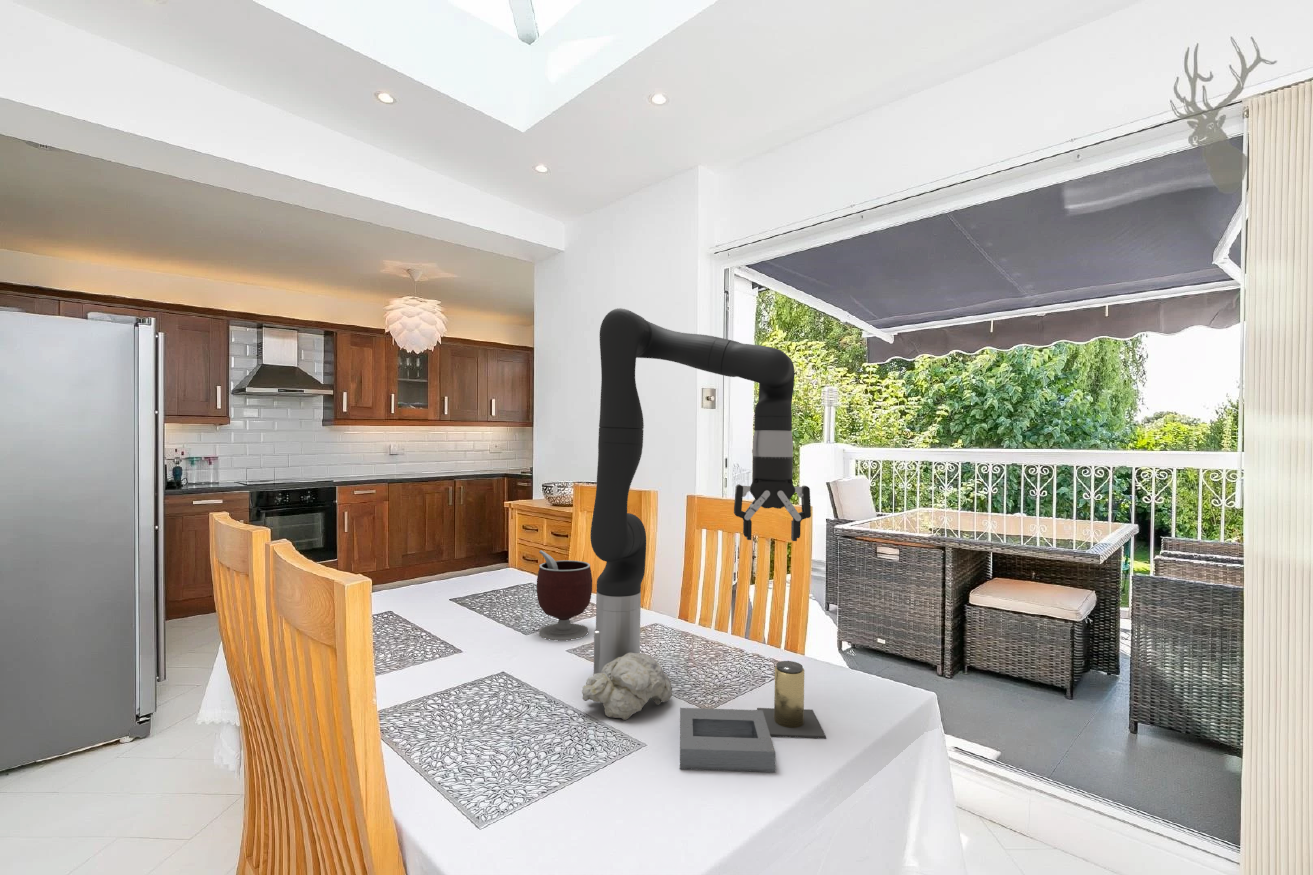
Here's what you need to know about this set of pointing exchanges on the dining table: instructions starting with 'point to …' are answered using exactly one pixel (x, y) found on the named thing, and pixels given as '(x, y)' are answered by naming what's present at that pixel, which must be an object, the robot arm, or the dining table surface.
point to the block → (725, 740)
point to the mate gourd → (563, 596)
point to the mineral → (628, 685)
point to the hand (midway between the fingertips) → (771, 540)
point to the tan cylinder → (789, 694)
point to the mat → (807, 730)
